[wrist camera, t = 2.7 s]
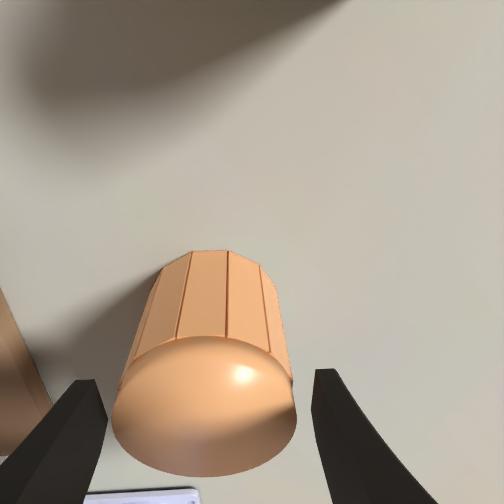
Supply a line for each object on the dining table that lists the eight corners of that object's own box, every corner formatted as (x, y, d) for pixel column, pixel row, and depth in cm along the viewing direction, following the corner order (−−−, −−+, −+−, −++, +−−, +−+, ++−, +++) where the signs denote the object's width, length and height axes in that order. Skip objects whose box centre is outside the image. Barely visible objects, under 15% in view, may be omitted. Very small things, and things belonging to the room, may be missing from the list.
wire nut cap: (274, 346, 17) (292, 472, 12) (160, 352, 17) (130, 481, 12) (277, 248, 15) (302, 357, 10) (141, 253, 14) (91, 366, 9)
